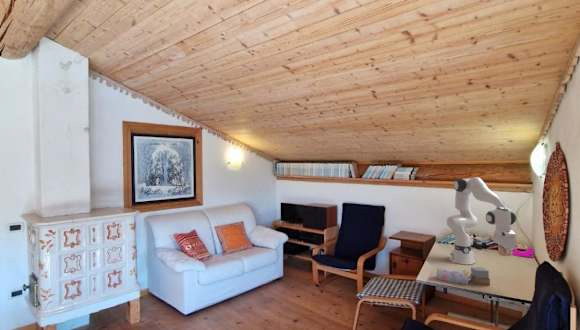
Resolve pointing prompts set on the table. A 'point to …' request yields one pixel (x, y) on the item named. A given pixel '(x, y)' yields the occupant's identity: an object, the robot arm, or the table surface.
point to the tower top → (479, 272)
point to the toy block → (523, 252)
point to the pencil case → (453, 275)
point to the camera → (479, 244)
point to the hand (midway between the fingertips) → (504, 252)
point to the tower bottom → (480, 280)
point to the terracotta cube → (503, 251)
